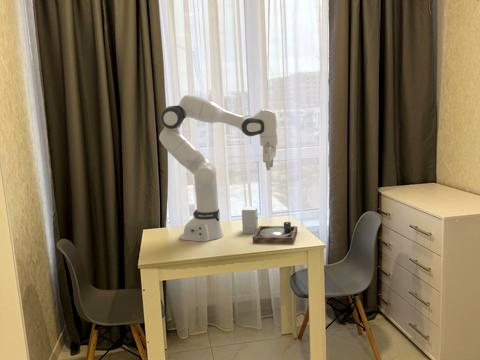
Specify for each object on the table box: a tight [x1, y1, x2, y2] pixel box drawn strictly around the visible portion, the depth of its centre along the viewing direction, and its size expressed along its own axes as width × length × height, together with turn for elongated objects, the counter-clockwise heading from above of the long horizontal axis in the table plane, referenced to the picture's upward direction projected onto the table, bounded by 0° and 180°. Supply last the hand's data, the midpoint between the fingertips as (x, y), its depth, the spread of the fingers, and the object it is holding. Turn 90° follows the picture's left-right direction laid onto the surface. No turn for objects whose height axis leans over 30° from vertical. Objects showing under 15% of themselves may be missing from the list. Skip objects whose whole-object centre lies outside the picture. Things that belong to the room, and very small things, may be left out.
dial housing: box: [252, 225, 298, 245], centre depth 249 cm, size 20×20×3 cm
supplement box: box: [241, 206, 259, 234], centre depth 261 cm, size 7×7×13 cm
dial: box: [260, 221, 292, 237], centre depth 248 cm, size 16×16×7 cm
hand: (269, 168), depth 251 cm, fingers open, 8 cm apart
